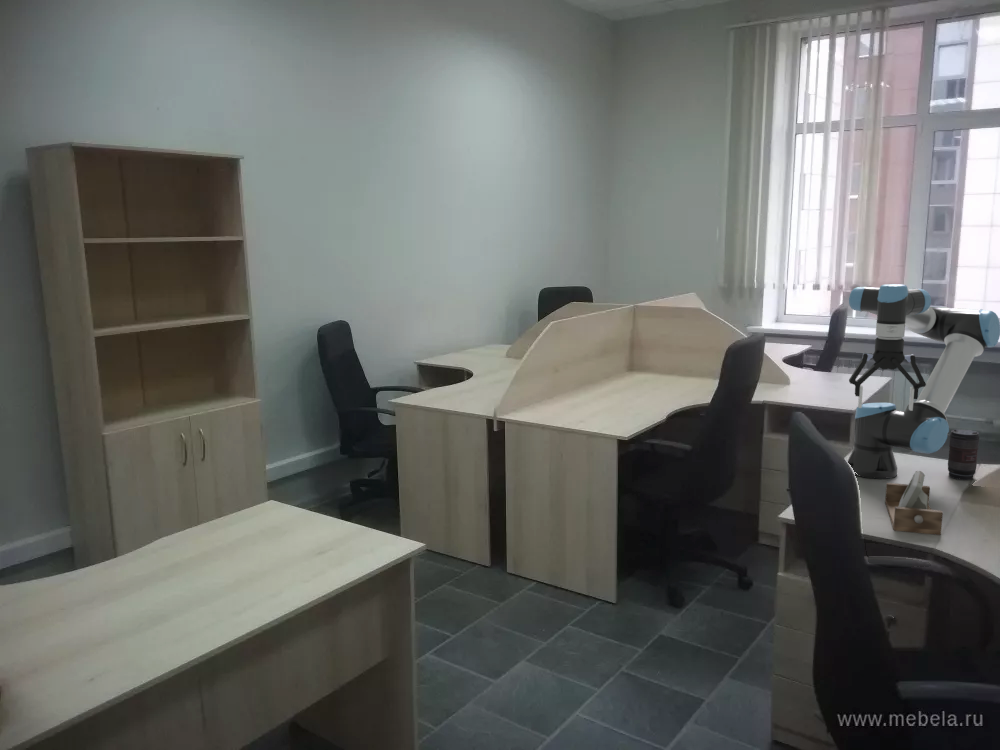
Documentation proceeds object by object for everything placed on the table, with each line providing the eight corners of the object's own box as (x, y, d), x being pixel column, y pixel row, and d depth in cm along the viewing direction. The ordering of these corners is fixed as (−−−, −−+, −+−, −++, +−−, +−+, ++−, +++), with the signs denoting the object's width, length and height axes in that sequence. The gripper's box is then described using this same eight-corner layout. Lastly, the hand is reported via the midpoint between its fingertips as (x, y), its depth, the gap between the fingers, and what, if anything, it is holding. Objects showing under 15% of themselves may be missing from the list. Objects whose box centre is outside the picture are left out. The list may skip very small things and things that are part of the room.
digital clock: (902, 502, 222) (904, 466, 220) (936, 509, 216) (939, 473, 214) (883, 518, 210) (886, 481, 208) (919, 526, 204) (923, 488, 202)
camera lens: (975, 475, 247) (980, 430, 245) (975, 482, 241) (979, 436, 238) (947, 471, 252) (950, 427, 249) (945, 478, 245) (949, 433, 242)
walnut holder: (926, 505, 222) (928, 485, 221) (941, 536, 200) (943, 514, 199) (884, 501, 226) (886, 481, 225) (894, 531, 204) (896, 509, 203)
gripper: (843, 338, 225) (839, 408, 228) (940, 340, 216) (934, 413, 220) (842, 334, 231) (838, 403, 235) (936, 336, 223) (930, 407, 227)
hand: (884, 408), depth 228 cm, fingers open, 13 cm apart
